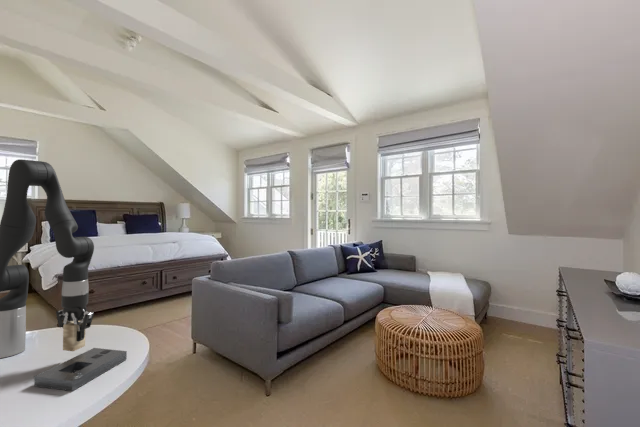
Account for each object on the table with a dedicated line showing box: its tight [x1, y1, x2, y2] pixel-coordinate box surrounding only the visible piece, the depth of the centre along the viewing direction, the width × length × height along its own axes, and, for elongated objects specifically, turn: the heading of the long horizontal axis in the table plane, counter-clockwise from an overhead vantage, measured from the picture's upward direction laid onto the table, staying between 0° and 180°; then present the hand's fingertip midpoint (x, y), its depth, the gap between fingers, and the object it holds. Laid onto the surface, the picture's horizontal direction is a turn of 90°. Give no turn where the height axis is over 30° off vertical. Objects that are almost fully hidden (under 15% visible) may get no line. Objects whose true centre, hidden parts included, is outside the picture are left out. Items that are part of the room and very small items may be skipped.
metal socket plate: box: [33, 347, 128, 392], centre depth 101 cm, size 14×20×3 cm
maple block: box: [62, 320, 86, 352], centre depth 108 cm, size 4×4×9 cm
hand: (74, 339), depth 108 cm, fingers closed on maple block, 4 cm apart
